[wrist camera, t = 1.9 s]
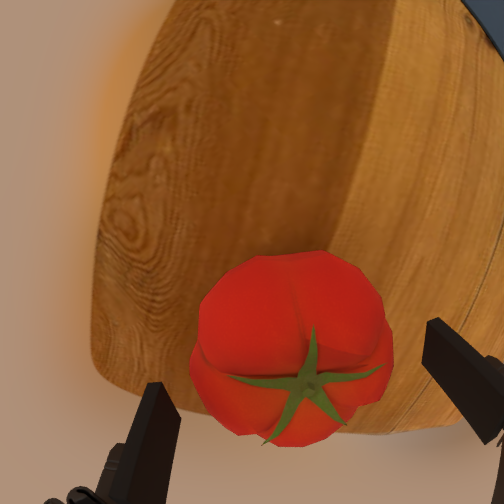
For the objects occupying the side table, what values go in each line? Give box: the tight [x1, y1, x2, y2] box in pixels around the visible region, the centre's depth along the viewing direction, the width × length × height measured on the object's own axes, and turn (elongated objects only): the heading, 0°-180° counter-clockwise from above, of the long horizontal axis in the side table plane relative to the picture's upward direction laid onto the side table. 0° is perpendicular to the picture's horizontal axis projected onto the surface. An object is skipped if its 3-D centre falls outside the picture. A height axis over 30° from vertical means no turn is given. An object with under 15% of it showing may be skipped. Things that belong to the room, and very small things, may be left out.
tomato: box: [190, 250, 394, 447], centre depth 14 cm, size 11×11×8 cm
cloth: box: [461, 0, 504, 60], centre depth 10 cm, size 20×16×1 cm
